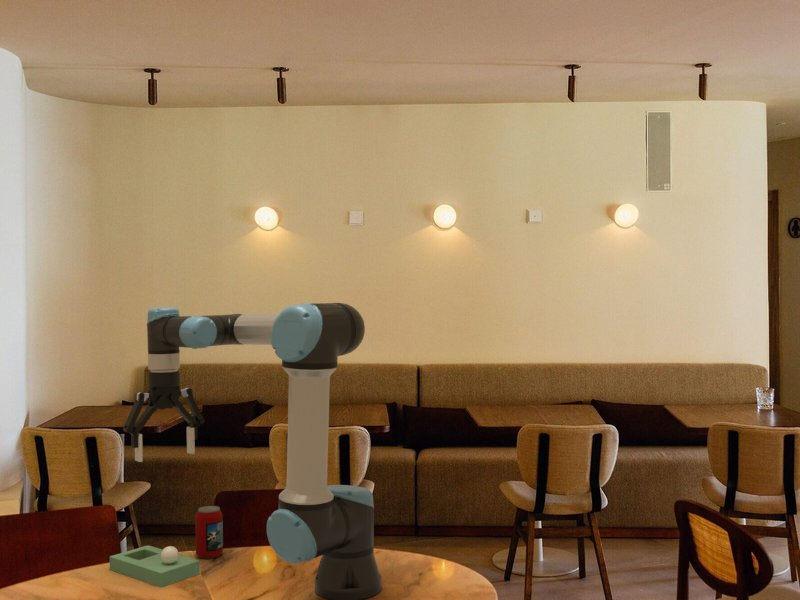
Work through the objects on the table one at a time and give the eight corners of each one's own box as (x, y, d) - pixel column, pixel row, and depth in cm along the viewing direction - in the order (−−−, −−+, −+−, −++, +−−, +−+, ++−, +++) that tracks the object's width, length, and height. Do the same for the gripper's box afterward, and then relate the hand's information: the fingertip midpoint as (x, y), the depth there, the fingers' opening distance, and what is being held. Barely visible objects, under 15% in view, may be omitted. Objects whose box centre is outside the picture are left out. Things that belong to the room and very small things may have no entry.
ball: (182, 562, 201) (182, 545, 201) (168, 567, 198) (167, 550, 197) (171, 559, 203) (171, 542, 203) (157, 564, 200) (157, 547, 200)
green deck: (199, 573, 202) (199, 560, 202) (161, 587, 194) (161, 573, 194) (148, 557, 214) (147, 545, 214) (109, 569, 206) (109, 556, 206)
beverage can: (216, 560, 212) (215, 512, 212) (191, 558, 213) (190, 511, 213) (227, 552, 219) (226, 505, 218) (202, 550, 220) (202, 504, 220)
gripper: (203, 366, 219) (204, 448, 220) (108, 373, 203) (109, 461, 203) (217, 367, 214) (218, 452, 214) (120, 375, 197) (122, 466, 198)
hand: (165, 457), depth 209 cm, fingers open, 13 cm apart
